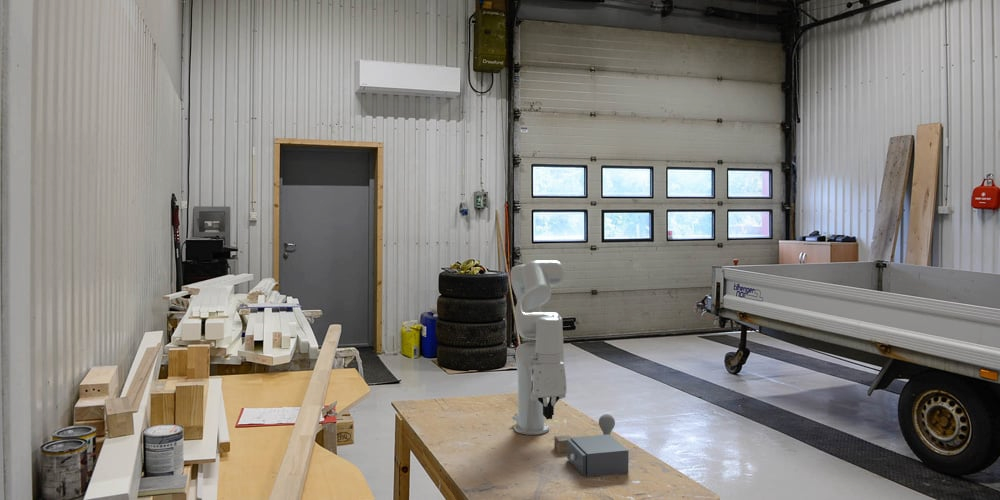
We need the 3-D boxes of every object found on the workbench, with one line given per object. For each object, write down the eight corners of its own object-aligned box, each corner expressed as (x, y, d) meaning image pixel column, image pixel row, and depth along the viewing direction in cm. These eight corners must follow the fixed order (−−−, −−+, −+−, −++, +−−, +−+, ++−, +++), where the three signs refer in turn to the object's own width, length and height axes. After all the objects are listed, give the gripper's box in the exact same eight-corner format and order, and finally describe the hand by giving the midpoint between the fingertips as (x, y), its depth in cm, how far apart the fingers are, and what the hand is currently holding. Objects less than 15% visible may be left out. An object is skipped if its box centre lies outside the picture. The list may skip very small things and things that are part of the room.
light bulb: (602, 447, 215) (602, 417, 214) (596, 441, 220) (596, 412, 220) (617, 445, 216) (617, 415, 216) (610, 440, 222) (610, 411, 221)
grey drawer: (564, 458, 203) (563, 439, 203) (604, 454, 206) (604, 436, 206) (579, 475, 189) (579, 455, 189) (623, 471, 192) (623, 451, 192)
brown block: (554, 447, 214) (554, 435, 214) (568, 446, 215) (568, 434, 215) (559, 453, 210) (558, 440, 209) (573, 451, 211) (573, 439, 210)
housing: (570, 459, 204) (570, 437, 204) (609, 455, 207) (609, 434, 206) (587, 477, 189) (587, 453, 189) (628, 473, 192) (628, 450, 192)
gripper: (527, 362, 188) (527, 423, 189) (576, 359, 191) (575, 419, 193) (521, 356, 195) (521, 415, 197) (568, 353, 198) (567, 412, 200)
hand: (548, 417), depth 195 cm, fingers closed
